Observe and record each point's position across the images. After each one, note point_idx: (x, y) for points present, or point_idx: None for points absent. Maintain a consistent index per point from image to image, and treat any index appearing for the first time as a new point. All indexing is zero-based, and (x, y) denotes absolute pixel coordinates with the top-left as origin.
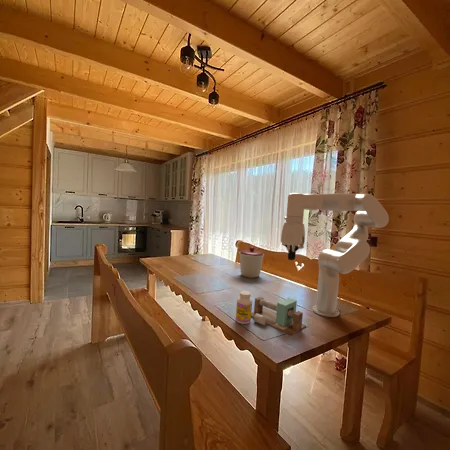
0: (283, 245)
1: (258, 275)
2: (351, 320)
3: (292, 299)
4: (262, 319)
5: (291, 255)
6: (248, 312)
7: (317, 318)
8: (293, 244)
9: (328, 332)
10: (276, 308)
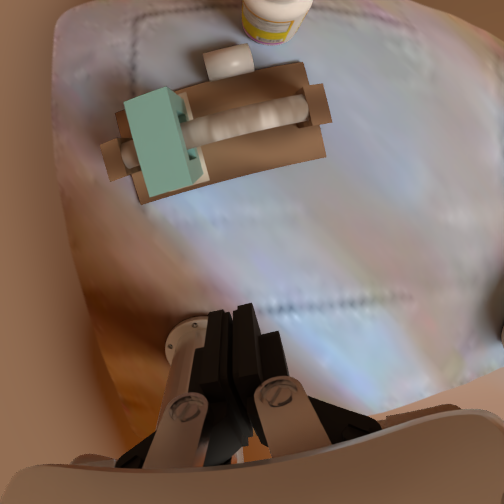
0: (422, 412)
1: (502, 338)
2: (138, 365)
3: (169, 188)
4: (207, 53)
5: (205, 346)
6: (242, 7)
7: (177, 290)
8: (92, 477)
9: (94, 243)
10: (205, 116)
